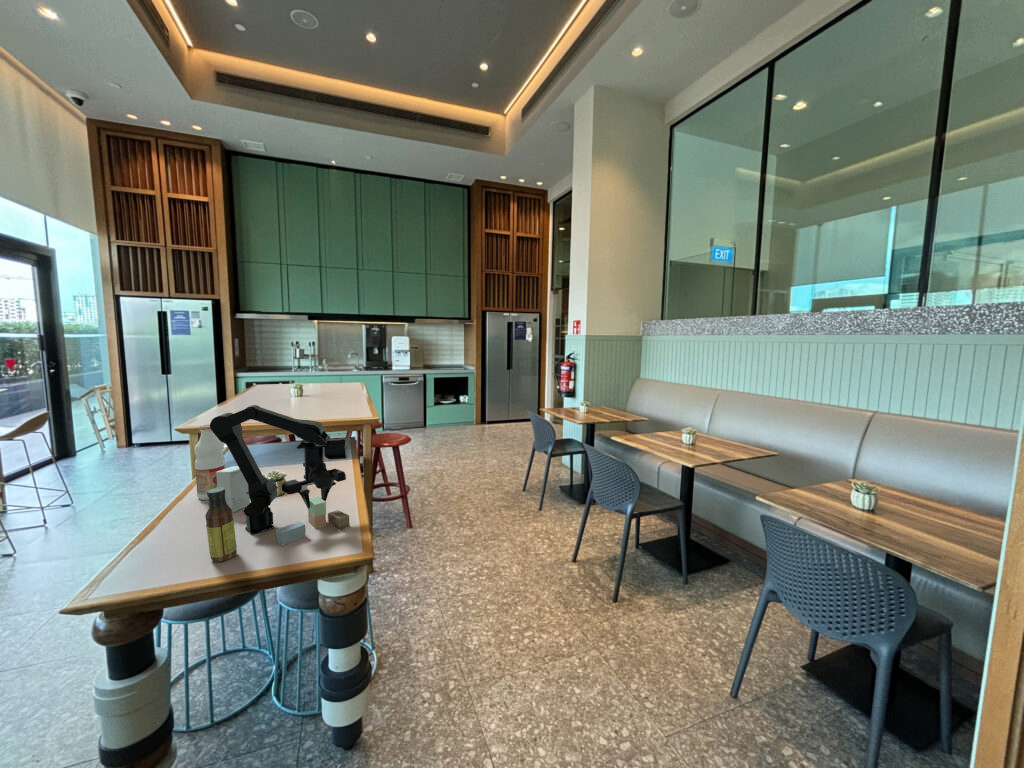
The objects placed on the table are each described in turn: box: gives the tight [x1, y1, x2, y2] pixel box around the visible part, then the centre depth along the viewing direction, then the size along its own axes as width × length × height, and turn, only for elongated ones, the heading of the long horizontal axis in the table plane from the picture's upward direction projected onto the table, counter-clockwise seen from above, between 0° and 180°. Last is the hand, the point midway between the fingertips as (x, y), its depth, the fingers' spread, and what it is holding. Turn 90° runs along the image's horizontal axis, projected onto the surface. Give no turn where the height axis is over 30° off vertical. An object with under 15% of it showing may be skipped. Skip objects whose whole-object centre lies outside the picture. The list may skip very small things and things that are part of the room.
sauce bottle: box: [204, 487, 238, 563], centre depth 114 cm, size 7×6×20 cm
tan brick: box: [307, 510, 327, 529], centre depth 136 cm, size 7×4×4 cm, turn 42°
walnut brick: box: [327, 509, 351, 531], centre depth 135 cm, size 7×4×4 cm, turn 52°
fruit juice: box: [193, 424, 226, 501], centre depth 158 cm, size 9×9×28 cm
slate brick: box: [275, 521, 307, 546], centre depth 125 cm, size 7×4×4 cm, turn 144°
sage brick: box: [307, 496, 327, 517], centre depth 136 cm, size 7×4×4 cm, turn 45°
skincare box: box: [216, 465, 251, 514], centre depth 148 cm, size 8×6×15 cm
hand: (316, 506), depth 136 cm, fingers open, 5 cm apart
